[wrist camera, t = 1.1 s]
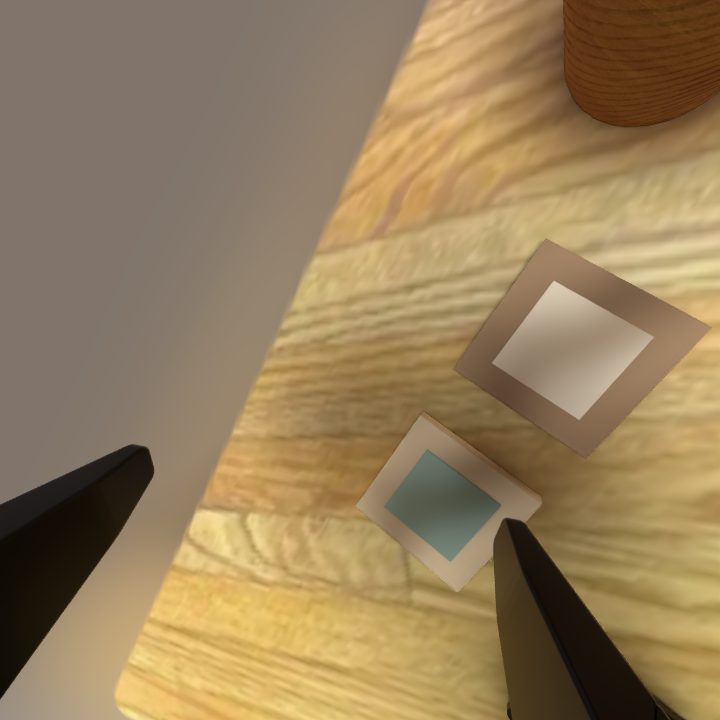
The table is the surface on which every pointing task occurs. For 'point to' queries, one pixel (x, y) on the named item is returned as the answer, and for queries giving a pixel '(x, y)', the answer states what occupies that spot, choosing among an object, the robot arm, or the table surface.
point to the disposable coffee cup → (641, 57)
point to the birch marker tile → (445, 501)
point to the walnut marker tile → (576, 347)
